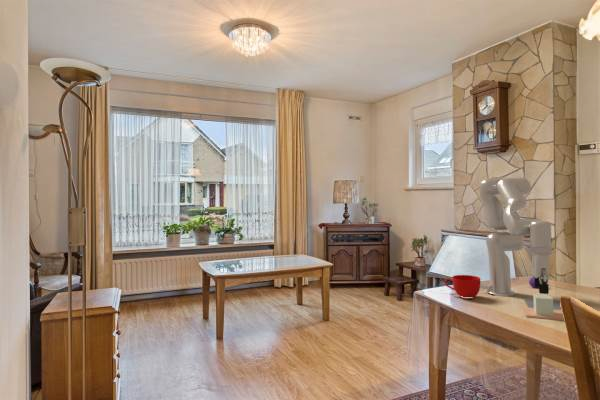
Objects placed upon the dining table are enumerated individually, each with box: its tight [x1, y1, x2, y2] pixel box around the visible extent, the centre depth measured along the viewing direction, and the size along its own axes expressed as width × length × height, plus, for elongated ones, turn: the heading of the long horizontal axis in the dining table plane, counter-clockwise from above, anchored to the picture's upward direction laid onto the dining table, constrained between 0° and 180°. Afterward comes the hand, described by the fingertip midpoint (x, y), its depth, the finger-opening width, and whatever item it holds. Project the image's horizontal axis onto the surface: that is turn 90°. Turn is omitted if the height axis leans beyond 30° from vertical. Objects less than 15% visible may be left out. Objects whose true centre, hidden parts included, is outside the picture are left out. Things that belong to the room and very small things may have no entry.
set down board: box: [522, 308, 565, 321], centre depth 152 cm, size 14×10×1 cm
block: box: [532, 293, 555, 316], centre depth 152 cm, size 6×6×7 cm
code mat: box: [523, 299, 562, 311], centre depth 165 cm, size 16×14×1 cm
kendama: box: [528, 276, 539, 289], centre depth 202 cm, size 6×6×20 cm
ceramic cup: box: [444, 274, 481, 298], centre depth 184 cm, size 13×17×10 cm
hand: (541, 290), depth 152 cm, fingers open, 9 cm apart
